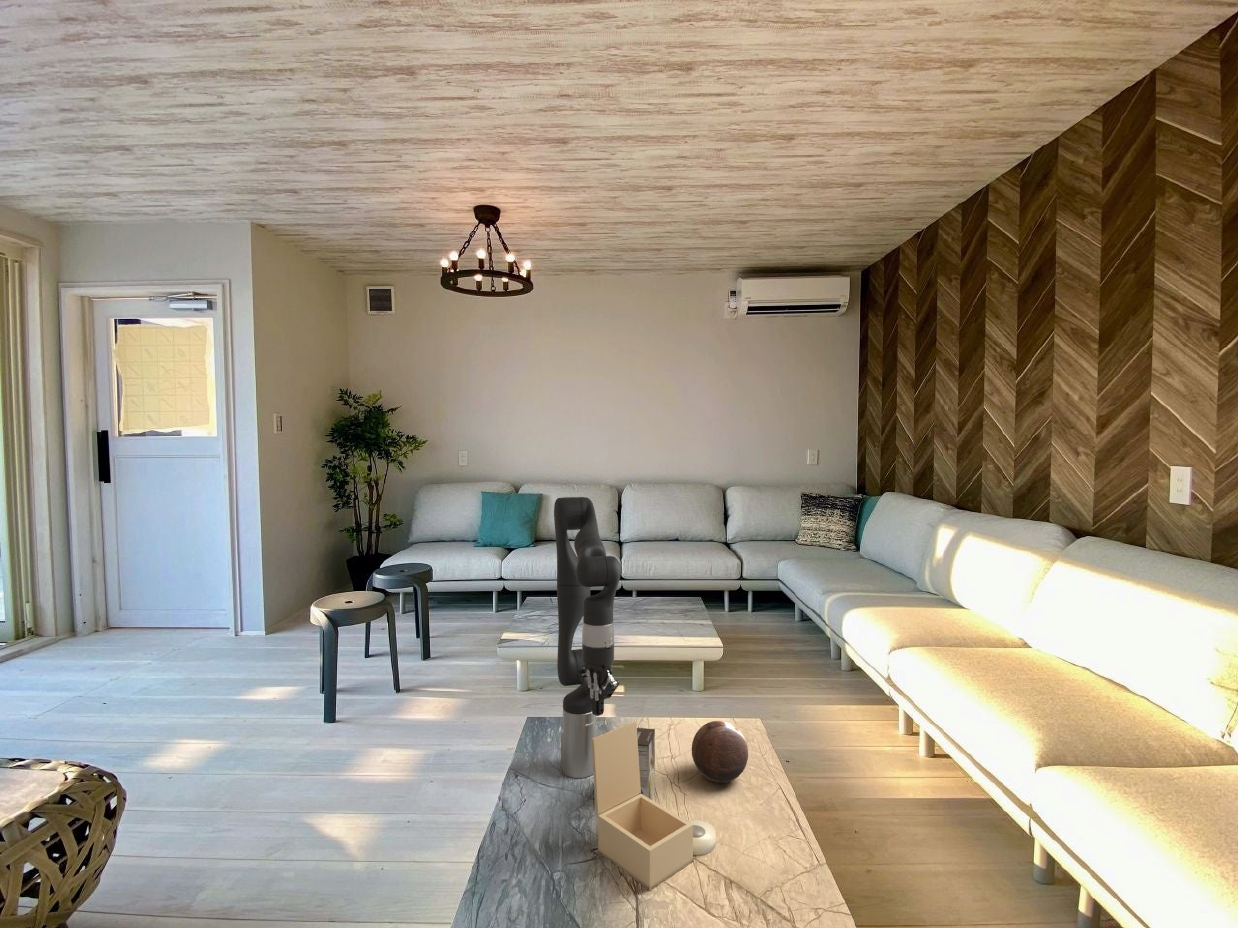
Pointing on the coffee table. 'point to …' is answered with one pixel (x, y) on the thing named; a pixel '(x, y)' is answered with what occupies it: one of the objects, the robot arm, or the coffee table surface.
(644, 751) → the coffee box
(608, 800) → the lid
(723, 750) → the wooden sphere
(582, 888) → the coffee table surface
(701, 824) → the cream domed button
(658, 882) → the box
